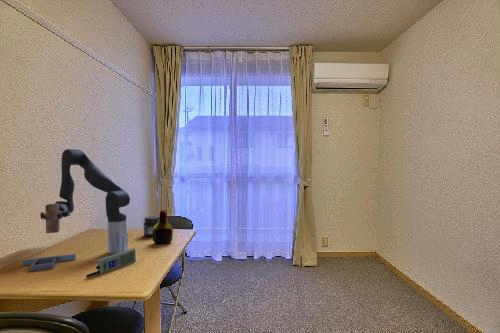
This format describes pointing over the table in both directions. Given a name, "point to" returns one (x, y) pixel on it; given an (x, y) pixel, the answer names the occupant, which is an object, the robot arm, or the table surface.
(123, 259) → the handheld radio
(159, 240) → the bottle
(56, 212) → the block
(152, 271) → the table surface
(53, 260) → the keeper
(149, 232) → the supplement container
